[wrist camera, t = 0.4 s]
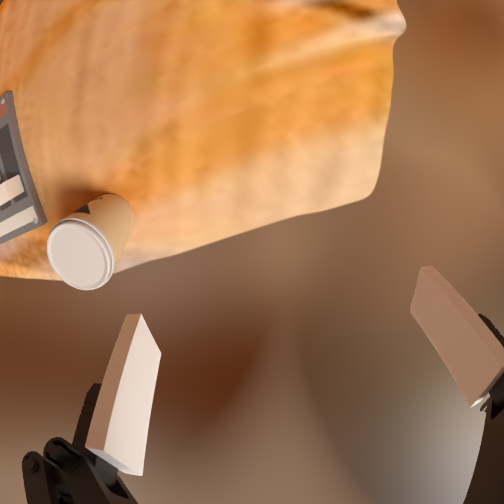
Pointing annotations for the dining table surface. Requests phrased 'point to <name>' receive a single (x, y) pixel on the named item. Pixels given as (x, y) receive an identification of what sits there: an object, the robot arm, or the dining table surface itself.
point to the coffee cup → (90, 241)
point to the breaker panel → (23, 172)
